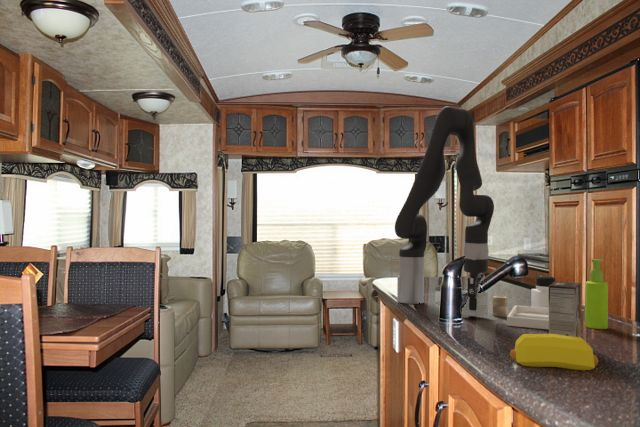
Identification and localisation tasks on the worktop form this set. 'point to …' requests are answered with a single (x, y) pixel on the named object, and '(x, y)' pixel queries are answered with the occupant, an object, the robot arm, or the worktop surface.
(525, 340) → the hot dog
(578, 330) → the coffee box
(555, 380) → the worktop surface
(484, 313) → the product box
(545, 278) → the medicine bottle
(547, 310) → the tray
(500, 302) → the beech block
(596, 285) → the soap dispenser
